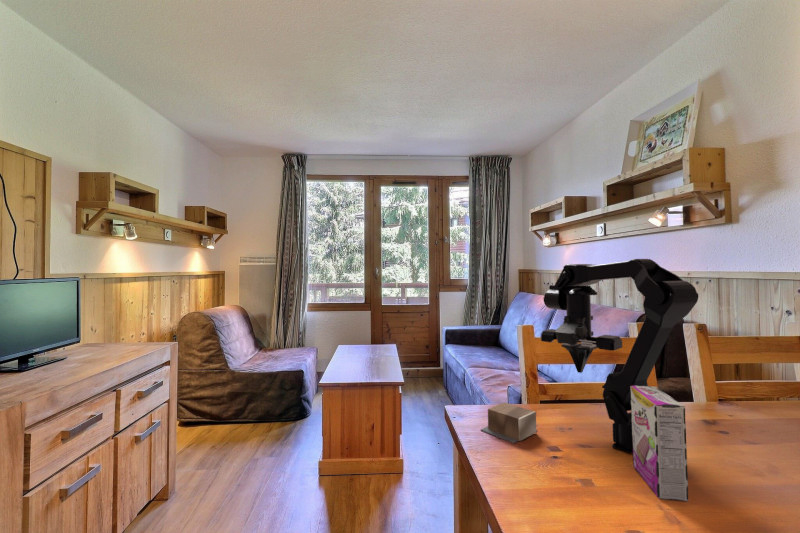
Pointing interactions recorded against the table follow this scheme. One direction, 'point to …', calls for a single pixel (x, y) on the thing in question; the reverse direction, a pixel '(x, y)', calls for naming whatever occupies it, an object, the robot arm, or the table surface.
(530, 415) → the walnut block
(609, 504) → the table surface
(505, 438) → the mat
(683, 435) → the candy bar box
